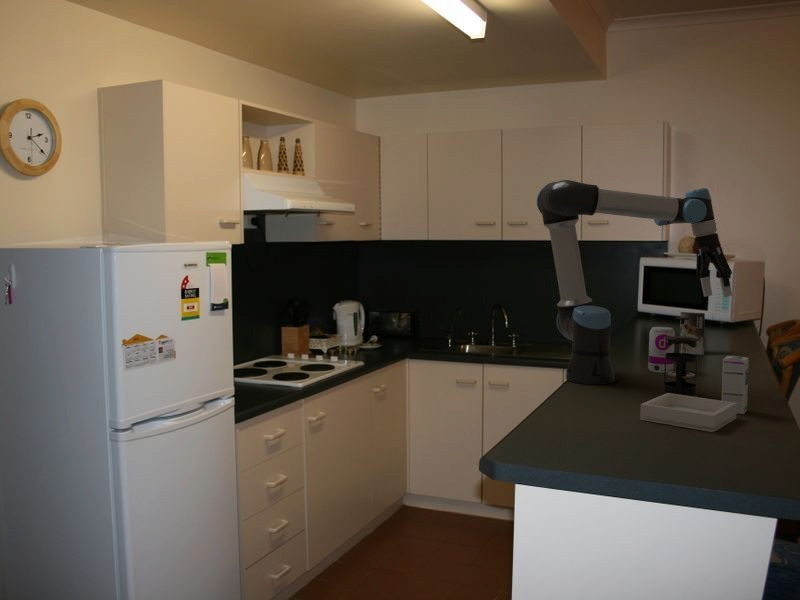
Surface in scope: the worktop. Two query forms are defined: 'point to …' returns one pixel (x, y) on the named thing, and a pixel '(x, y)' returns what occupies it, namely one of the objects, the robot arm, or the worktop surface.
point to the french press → (681, 366)
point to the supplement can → (660, 349)
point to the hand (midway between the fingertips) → (717, 296)
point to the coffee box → (693, 332)
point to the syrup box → (735, 381)
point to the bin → (689, 412)
